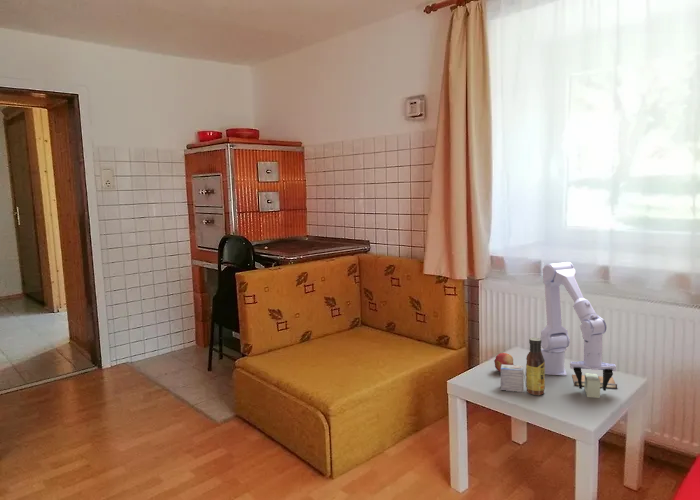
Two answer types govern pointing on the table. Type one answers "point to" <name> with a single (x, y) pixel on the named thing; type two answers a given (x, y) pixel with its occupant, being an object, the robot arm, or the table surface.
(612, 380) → the brown book
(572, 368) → the robot arm
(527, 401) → the table surface
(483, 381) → the table surface
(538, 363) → the sauce bottle
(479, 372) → the table surface
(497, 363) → the fruit
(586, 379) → the carton
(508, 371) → the medicine box
